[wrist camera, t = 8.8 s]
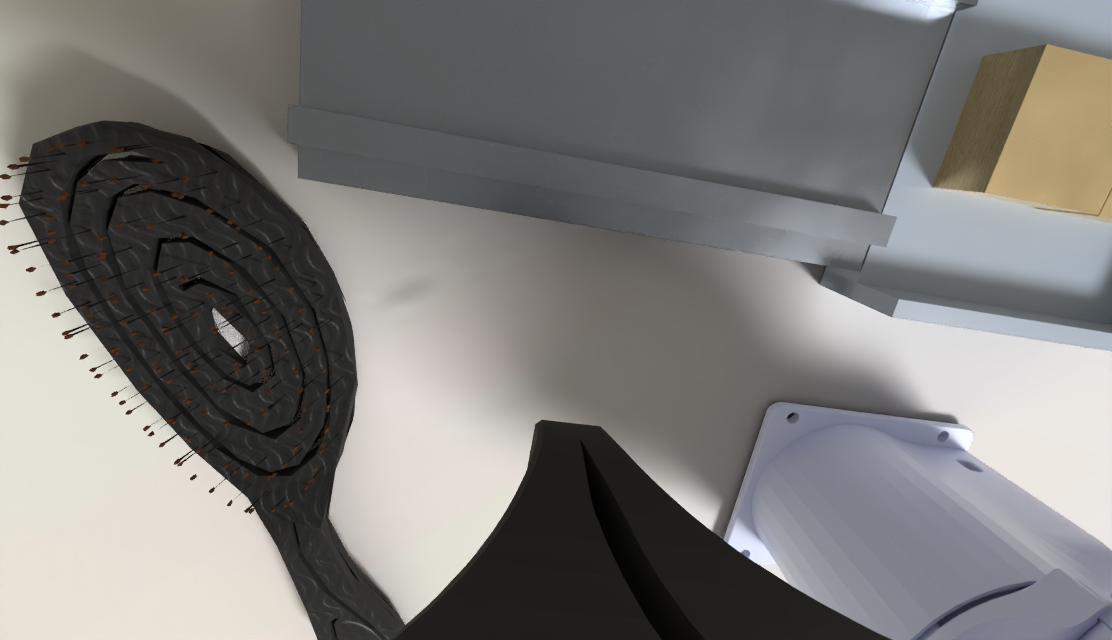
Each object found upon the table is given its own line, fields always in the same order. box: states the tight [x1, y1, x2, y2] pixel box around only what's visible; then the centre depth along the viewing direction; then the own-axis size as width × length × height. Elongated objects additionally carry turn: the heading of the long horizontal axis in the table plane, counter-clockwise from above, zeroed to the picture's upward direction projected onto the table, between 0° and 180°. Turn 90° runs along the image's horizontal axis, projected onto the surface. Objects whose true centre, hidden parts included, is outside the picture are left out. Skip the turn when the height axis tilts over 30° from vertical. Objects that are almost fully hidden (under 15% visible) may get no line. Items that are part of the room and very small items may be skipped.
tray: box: [820, 0, 1112, 351], centre depth 17 cm, size 11×12×4 cm
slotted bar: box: [288, 0, 978, 271], centre depth 16 cm, size 18×10×3 cm, turn 80°
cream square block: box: [933, 44, 1112, 215], centre depth 16 cm, size 4×4×2 cm
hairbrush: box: [0, 121, 405, 640], centre depth 19 cm, size 8×4×25 cm
